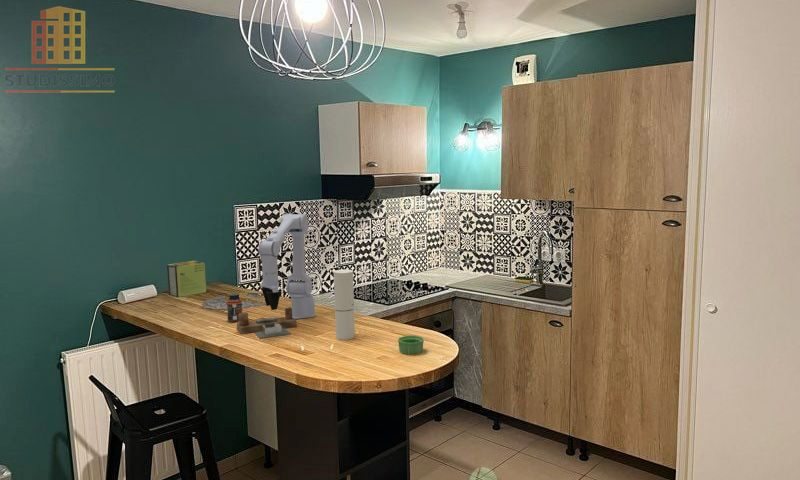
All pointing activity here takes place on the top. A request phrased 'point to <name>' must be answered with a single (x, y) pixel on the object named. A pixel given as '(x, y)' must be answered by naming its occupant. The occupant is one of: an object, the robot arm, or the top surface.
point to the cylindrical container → (344, 304)
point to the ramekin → (411, 344)
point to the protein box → (186, 278)
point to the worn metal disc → (220, 304)
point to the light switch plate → (271, 329)
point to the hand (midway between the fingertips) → (271, 307)
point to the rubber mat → (284, 332)
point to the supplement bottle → (234, 307)
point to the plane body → (264, 322)
